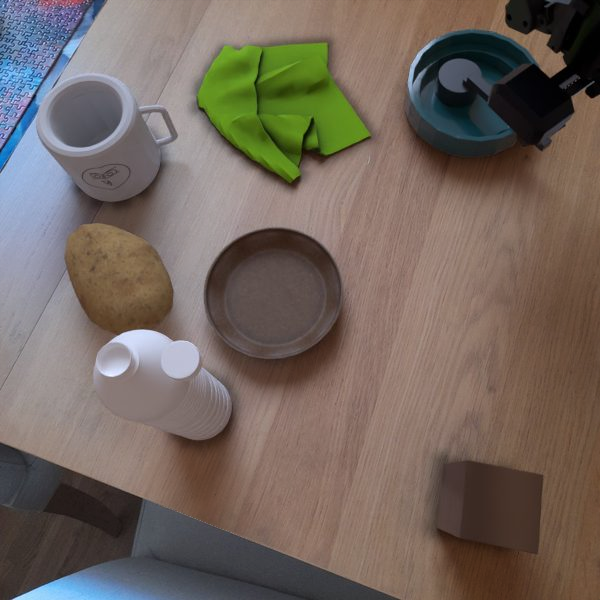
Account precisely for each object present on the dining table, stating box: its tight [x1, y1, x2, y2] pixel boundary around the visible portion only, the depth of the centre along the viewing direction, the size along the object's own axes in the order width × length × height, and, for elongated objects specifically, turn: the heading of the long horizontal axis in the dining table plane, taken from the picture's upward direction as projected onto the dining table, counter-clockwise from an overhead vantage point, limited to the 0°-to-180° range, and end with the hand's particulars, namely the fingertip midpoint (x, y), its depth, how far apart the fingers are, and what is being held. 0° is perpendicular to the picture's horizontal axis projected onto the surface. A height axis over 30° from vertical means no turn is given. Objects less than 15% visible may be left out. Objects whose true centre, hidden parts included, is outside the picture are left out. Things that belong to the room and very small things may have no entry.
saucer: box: [203, 226, 344, 360], centre depth 61 cm, size 15×15×3 cm
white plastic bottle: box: [92, 329, 233, 441], centre depth 47 cm, size 9×6×25 cm
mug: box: [35, 72, 179, 203], centre depth 64 cm, size 14×11×10 cm
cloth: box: [196, 42, 372, 185], centre depth 68 cm, size 20×22×2 cm
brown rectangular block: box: [436, 459, 544, 555], centre depth 50 cm, size 6×6×10 cm
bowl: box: [403, 28, 541, 159], centre depth 66 cm, size 15×15×4 cm
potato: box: [64, 222, 175, 336], centre depth 60 cm, size 10×14×8 cm
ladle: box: [436, 59, 553, 152], centre depth 65 cm, size 16×5×4 cm, turn 36°
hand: (555, 119), depth 57 cm, fingers open, 9 cm apart
